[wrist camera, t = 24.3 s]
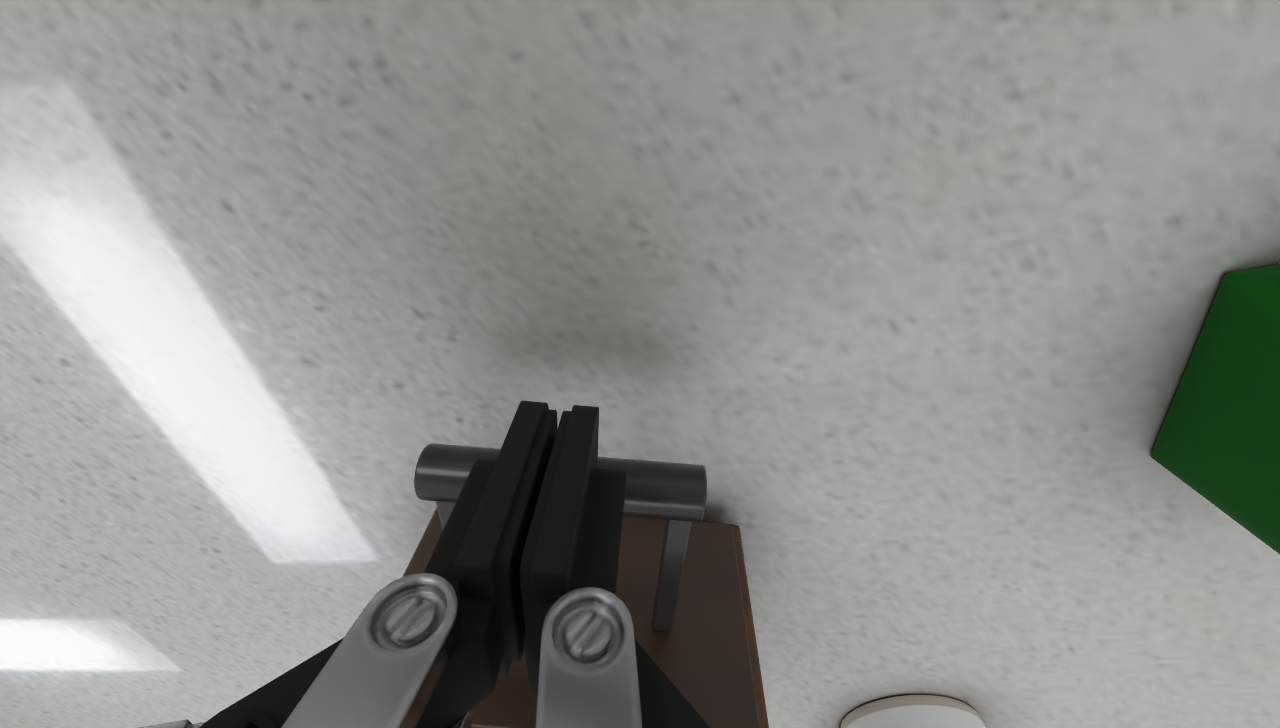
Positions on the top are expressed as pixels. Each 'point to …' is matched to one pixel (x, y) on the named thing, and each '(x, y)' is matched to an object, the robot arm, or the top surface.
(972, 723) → the mug
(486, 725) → the drawer
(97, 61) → the top surface
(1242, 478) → the milk carton
